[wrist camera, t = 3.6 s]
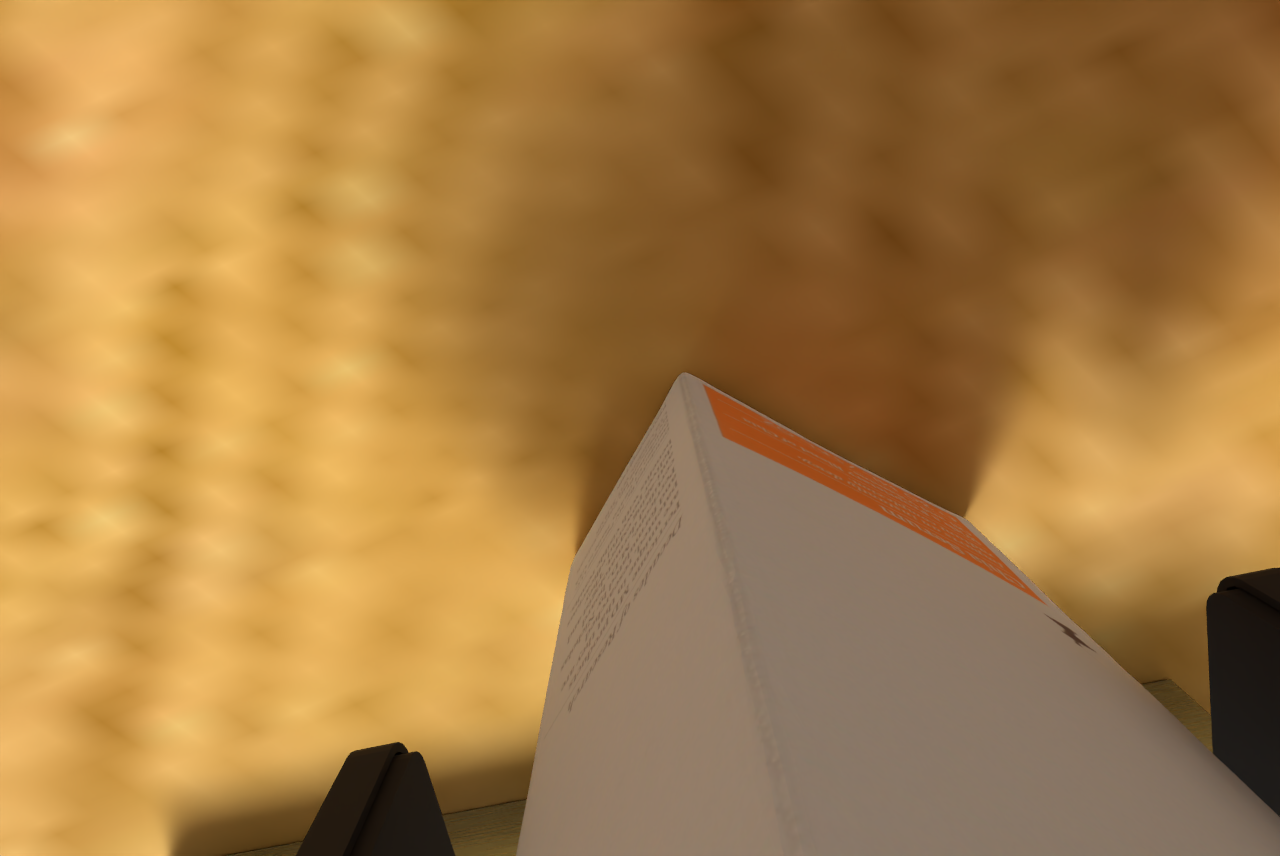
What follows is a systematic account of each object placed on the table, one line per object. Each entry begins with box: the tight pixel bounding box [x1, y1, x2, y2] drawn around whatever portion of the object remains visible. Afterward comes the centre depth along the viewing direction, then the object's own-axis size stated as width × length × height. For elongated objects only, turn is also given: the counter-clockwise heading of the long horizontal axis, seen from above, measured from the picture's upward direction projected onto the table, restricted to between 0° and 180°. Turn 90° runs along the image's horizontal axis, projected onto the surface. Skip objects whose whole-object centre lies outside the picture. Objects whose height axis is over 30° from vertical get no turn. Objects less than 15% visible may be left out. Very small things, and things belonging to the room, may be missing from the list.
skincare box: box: [516, 372, 1280, 856], centre depth 9 cm, size 6×4×12 cm
